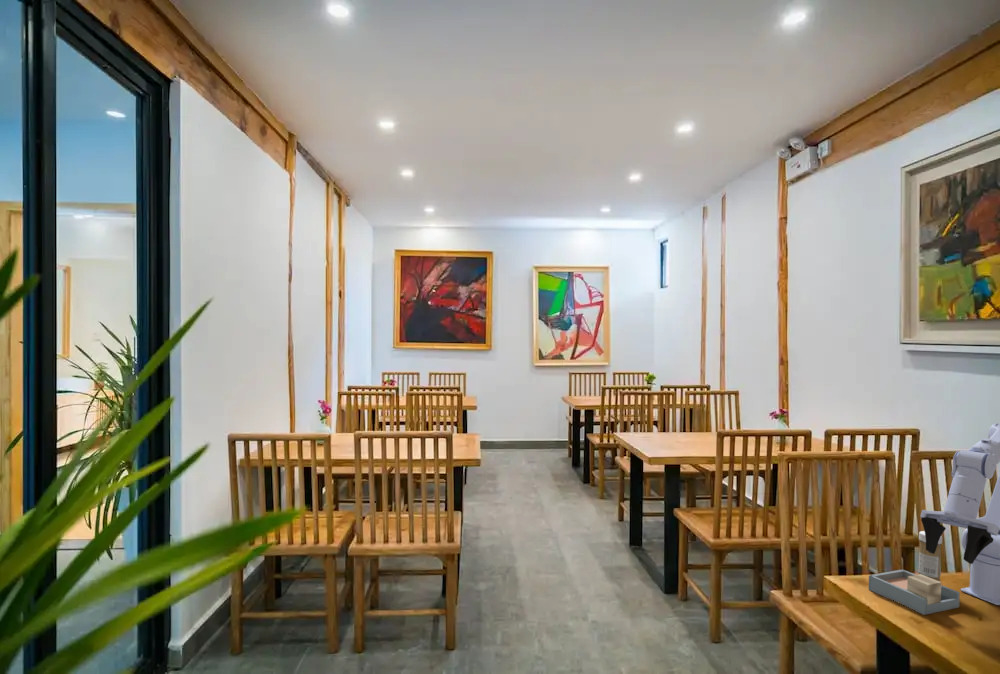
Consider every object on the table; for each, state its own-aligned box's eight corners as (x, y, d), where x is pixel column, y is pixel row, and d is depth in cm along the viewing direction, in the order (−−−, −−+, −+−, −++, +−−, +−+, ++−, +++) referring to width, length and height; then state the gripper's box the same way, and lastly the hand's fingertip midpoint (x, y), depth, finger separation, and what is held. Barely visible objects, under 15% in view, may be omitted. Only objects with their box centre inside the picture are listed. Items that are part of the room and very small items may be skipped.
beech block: (920, 593, 132) (920, 574, 132) (940, 601, 128) (941, 582, 128) (907, 595, 131) (907, 576, 131) (927, 604, 127) (928, 584, 127)
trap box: (902, 583, 142) (902, 569, 142) (959, 607, 130) (959, 592, 130) (868, 589, 138) (869, 575, 138) (924, 615, 126) (924, 599, 126)
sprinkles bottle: (943, 588, 140) (945, 534, 140) (936, 592, 137) (937, 538, 137) (921, 581, 144) (923, 529, 143) (914, 585, 141) (915, 532, 141)
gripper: (919, 486, 133) (903, 540, 130) (991, 498, 120) (975, 558, 117) (937, 499, 135) (921, 553, 132) (1009, 512, 122) (994, 572, 119)
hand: (948, 556), depth 124 cm, fingers open, 7 cm apart
